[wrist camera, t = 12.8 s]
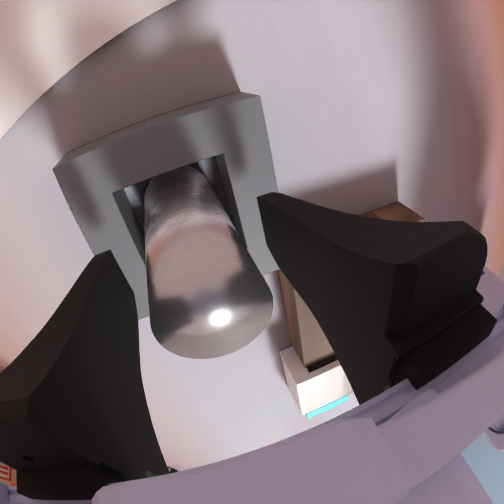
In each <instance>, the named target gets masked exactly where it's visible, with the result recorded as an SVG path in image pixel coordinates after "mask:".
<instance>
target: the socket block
mask: <svg viewBox="0 0 504 504" xmlns="http://www.w3.org/2000/svg"><path fill="white" fill-rule="evenodd" d="M360 216H364V217H369V218H376V219H385V220H394V221H407V222H424V218H422V217H421V216H419V215H418V214H417V213H415V212H414V211H412V210H411V209H409V208H408V207H406V206H405V205H403V204H402V203H400V202H399V201H398V202H396V203H393V204H390V205H387V206H385V207H382V208H379V209H376V210H373V211H371V212H368V213H365V214H362V215H360ZM278 275H279V280H280V285H281V291H282V296H283V302H284V307H285V312H286V318H287V323H288V329H289V335H290V340H291V344H292V346H293V347H294V349H295V351H296V353H297V355H298V356H299V358H300V360H301V362H302V364H303V366H304V367H307V366H309V365H311V364H314V363H316V362H318V361H320V360H323V359H325V358H327V357H329V356H331V355H333V354H335V353H334V351H333V349H332V347H331V345H330V344H329V342H328V340H327V338H326V336H325V334H324V333H323V331H322V329H321V327H320V325H319V324H318V322H317V320H316V318H315V317H314V315H313V314H312V312H311V311H310V309H309V308H308V306H307V305H306V304H305V302H304V301H303V300H302V298H301V297H300V295H299V294H298V293H297V291H296V290H295V289H294V287H293V286H292V285H291V283H290V282H289V281H288V279H287V278H286V276H285V275H284V274H283V272H282V271H281V270H280V269H278Z"/></svg>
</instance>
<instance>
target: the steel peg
mask: <svg viewBox="0 0 504 504" xmlns="http://www.w3.org/2000/svg"><path fill="white" fill-rule="evenodd" d="M144 225H145V256H146V275H147V290H148V303H149V314H150V324H151V329H152V332H153V334H154V336H155V338H156V339H157V341H158V342H159V343H160V344H161V345H162V346H163V347H164V348H166V349H167V350H169V351H170V352H172V353H174V354H177V355H180V356H183V357H187V358H194V359H207V358H215V357H220V356H224V355H227V354H230V353H232V352H235V351H237V350H239V349H241V348H243V347H244V346H246V345H247V344H249V343H250V342H252V341H253V340H254V339H255V338H256V337H257V336H258V335H259V334H260V333H261V332H262V331H263V330H264V328H265V327H266V325H267V324H268V322H269V320H270V317H271V315H272V311H273V296H272V293H271V290H270V288H269V286H268V285H267V283H266V281H265V279H264V278H263V276H262V274H261V272H260V271H259V269H258V267H257V266H256V264H255V262H254V260H253V259H252V257H251V255H250V253H249V252H248V250H247V248H246V246H245V245H244V243H243V241H242V239H241V238H240V236H239V234H238V232H237V231H236V229H235V227H234V225H233V224H232V222H231V220H230V219H229V217H228V215H227V213H226V212H225V210H224V208H223V206H222V205H221V203H220V201H219V199H218V198H217V196H216V194H215V192H214V191H213V189H212V187H211V185H210V184H209V182H208V180H207V179H206V177H205V176H204V175H203V174H202V173H201V172H200V171H198V170H196V169H195V168H192V167H189V166H182V167H179V168H176V169H173V170H171V171H168V172H165V173H162V174H159V175H157V176H154V177H153V178H152V179H151V180H150V182H149V183H148V185H147V188H146V190H145V195H144Z"/></svg>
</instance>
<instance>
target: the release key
mask: <svg viewBox="0 0 504 504" xmlns="http://www.w3.org/2000/svg"><path fill="white" fill-rule="evenodd" d="M334 361H336V358H335V356H334V355H331V356H329V357H327V358H325V359H323V360H320V361H318V362H316V363H314V364H311V365H309V366H307V367H306V368H307V370H308V372H309V373H310V372H313V371H315V370H317V369H319V368H321V367H324V366H326V365H328V364H330V363H332V362H334ZM347 400H348V395H346V396H344V397H342V398H340V399H337V400H335V401H333V402H331V403H329V404H327V405H325V406H323V407H320V408H318V409H316V410H314V411H312V412H309V413H307V414H306V416H307V418H308V419H309V418H311V417H313V416H315V415H318V414H320V413H322V412H324V411H326V410H329V409H331V408H333V407H335V406H337V405H339V404H341V403H343V402H345V401H347Z"/></svg>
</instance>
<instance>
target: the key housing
mask: <svg viewBox="0 0 504 504" xmlns="http://www.w3.org/2000/svg"><path fill="white" fill-rule="evenodd" d="M333 355H334V356H335V358H336V361H334V362H332V363H330V364H328V365H326V366H324V367H321V368H319V369H317V370H315V371H313V372H310V373H309V372H308V370H307V368H306V367H304V366H303V364H302V362H301V360H300V358H299V356H298V355H297V353H296V351H295V349H294V347H293V346H291V347H289V348H287V349H284V350H282V351H280V356H281V360H282V364H283V369H284V373H285V377H286V381H287V386H288V388H289V390H290V392H291V395H292V397H293V399H294V401H295V403H296V405H297V407H298V409H299V411H300V413H301V415H305V414H307V413H309V412H312V411H314V410H316V409H318V408H320V407H323V406H325V405H327V404H329V403H331V402H333V401H335V400H337V399H340V398H342V397H344V396H346V395H348V394H350V393H352V392H353V389H352V387H351V385H350V383H349V381H348V379H347V377H346V375H345V373H344V371H343V369H342V367H341V365H340V363H339V361H338V359H337V357H336V355H335V354H333Z"/></svg>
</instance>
